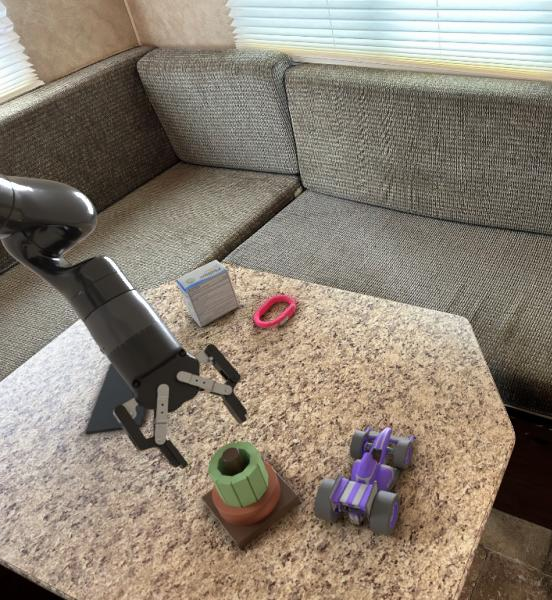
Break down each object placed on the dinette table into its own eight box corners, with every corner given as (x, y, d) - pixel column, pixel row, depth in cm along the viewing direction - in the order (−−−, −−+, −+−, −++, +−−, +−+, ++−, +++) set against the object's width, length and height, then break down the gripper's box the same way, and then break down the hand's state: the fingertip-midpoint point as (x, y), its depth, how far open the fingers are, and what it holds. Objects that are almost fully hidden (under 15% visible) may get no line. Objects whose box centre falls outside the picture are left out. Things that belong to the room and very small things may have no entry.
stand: (240, 550, 73) (215, 503, 66) (204, 503, 79) (178, 455, 72) (300, 502, 77) (283, 453, 71) (262, 461, 83) (243, 411, 76)
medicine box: (229, 296, 112) (216, 258, 106) (241, 307, 109) (228, 268, 103) (190, 316, 108) (174, 278, 102) (201, 328, 105) (185, 290, 100)
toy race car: (424, 442, 83) (421, 412, 79) (390, 543, 72) (384, 514, 68) (359, 429, 85) (352, 399, 81) (317, 525, 75) (307, 496, 71)
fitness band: (275, 333, 103) (273, 327, 102) (248, 324, 105) (246, 318, 104) (302, 304, 108) (301, 298, 107) (276, 296, 110) (274, 290, 109)
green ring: (236, 517, 72) (224, 494, 69) (211, 485, 76) (199, 461, 73) (278, 485, 75) (268, 461, 72) (251, 456, 79) (241, 432, 76)
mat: (140, 427, 89) (139, 424, 89) (86, 434, 89) (84, 431, 89) (160, 359, 100) (159, 357, 100) (111, 366, 100) (110, 363, 100)
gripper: (78, 365, 66) (168, 483, 67) (189, 297, 74) (269, 404, 75) (77, 376, 72) (160, 484, 73) (180, 313, 80) (253, 411, 81)
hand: (215, 443), depth 74 cm, fingers open, 8 cm apart
